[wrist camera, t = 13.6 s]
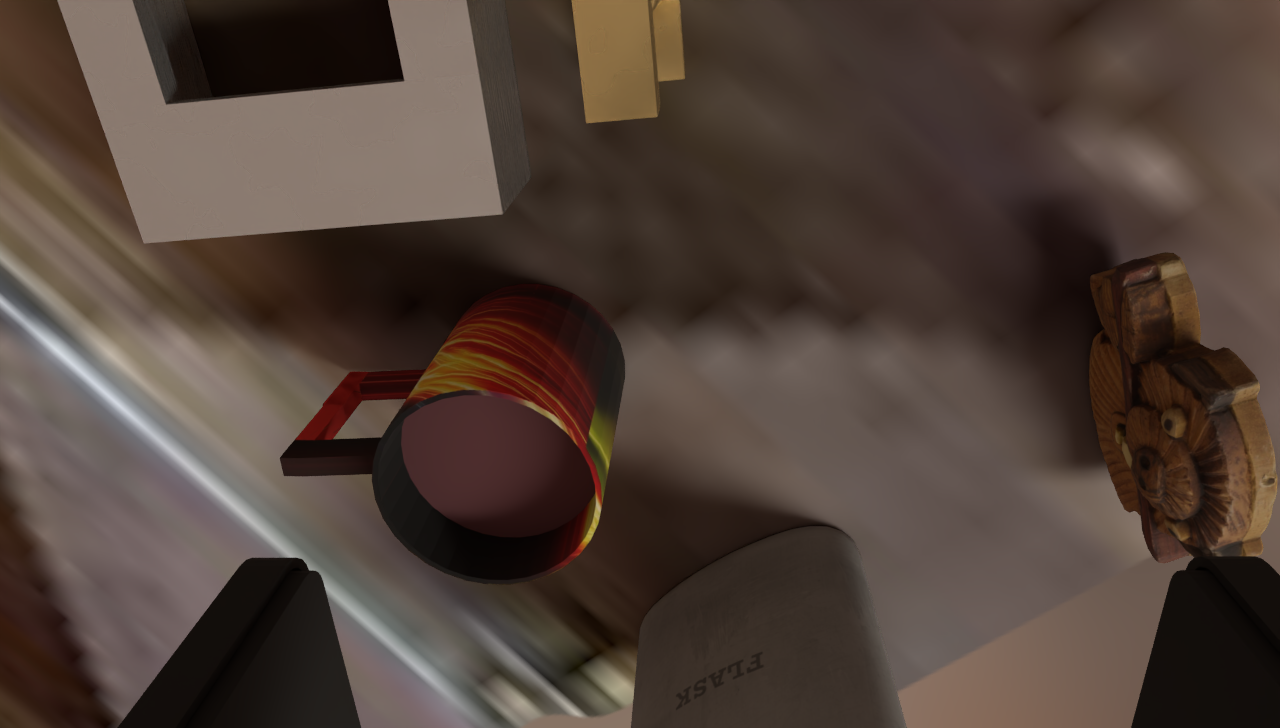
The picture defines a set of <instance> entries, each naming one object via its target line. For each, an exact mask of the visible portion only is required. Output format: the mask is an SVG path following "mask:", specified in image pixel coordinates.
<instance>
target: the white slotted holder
mask: <svg viewBox="0 0 1280 728" xmlns="http://www.w3.org/2000/svg"><path fill="white" fill-rule="evenodd" d="M57 1H58V4H59V6H60V9H61V12H62V15H63V18H64V20H65V23H66V26H67V29H68V32H69V34H70V37H71V40H72V43H73V46H74V48H75V51H76V54H77V57H78V60H79V63H80V65H81V68H82V71H83V74H84V77H85V79H86V82H87V85H88V88H89V91H90V93H91V96H92V99H93V102H94V105H95V107H96V110H97V113H98V116H99V119H100V121H101V124H102V127H103V130H104V133H105V135H106V138H107V141H108V144H109V147H110V150H111V152H112V155H113V158H114V161H115V164H116V166H117V169H118V172H119V175H120V178H121V180H122V183H123V186H124V189H125V192H126V194H127V197H128V200H129V203H130V206H131V208H132V211H133V214H134V217H135V220H136V223H137V225H138V228H139V231H140V234H141V237H142V239H143V242H144V243H155V242H167V241H179V240H192V239H204V238H216V237H229V236H241V235H253V234H265V233H278V232H290V231H302V230H315V229H327V228H339V227H352V226H364V225H376V224H389V223H401V222H413V221H426V220H438V219H450V218H463V217H475V216H487V215H500V214H503V213H504V212H505V211H506V209H507V208H508V207H509V205H510V204H511V203H512V202H513V200H514V199H515V198H516V196H517V195H518V194H519V192H520V191H521V190H522V189H523V187H524V186H525V185H526V183H527V182H528V181H529V179H530V178H531V172H530V166H529V159H528V153H527V146H526V140H525V133H524V127H523V120H522V113H521V107H520V100H519V94H518V87H517V81H516V74H515V68H514V61H513V54H512V48H511V41H510V35H509V28H508V22H507V15H506V9H505V2H504V0H388V3H389V8H390V13H391V18H392V23H393V28H394V32H395V37H396V42H397V47H398V52H399V57H400V62H401V66H402V71H403V76H404V79H394V80H384V81H374V82H363V83H353V84H343V85H333V86H323V87H313V88H302V89H292V90H282V91H272V92H262V93H252V94H241V95H231V96H221V97H212V93H211V90H210V87H209V83H208V80H207V76H206V73H205V70H204V66H203V63H202V60H201V56H200V53H199V50H198V46H197V43H196V40H195V36H194V33H193V30H192V26H191V23H190V20H189V16H188V13H187V10H186V6H185V3H184V0H57Z"/></svg>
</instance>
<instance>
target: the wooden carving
mask: <svg viewBox="0 0 1280 728" xmlns="http://www.w3.org/2000/svg"><path fill="white" fill-rule="evenodd" d="M1090 287H1091V290H1092V296H1093V299H1094V301H1095V307H1096V309H1097V312H1098V314H1099V318H1100V321H1101V323H1102V325H1103V327H1104V328H1105V329H1104V330H1102V331H1101V332H1099V333H1098V334H1097V335H1096V337H1095V338H1094V339H1093V344H1092V347H1091V352H1090V354H1091V355H1090V357H1089V358H1090V363H1089V378H1090V381H1089V386H1090V396H1091V400H1092V402H1091V405H1092V410H1093V412H1094V414H1093V418H1094V419H1095V422H1096V426H1097V433H1098V436H1099V438H1098V440H1099V443H1100V448H1101V450H1102V452H1103V456H1104V460H1105V462H1106V463H1107V467H1108V471H1109V473H1110V476H1111V480H1112V482H1113V484H1114V486H1115V489H1116V491H1117V495H1118V497H1119V499H1120V501H1121V503H1122V505H1123V507H1124V509H1125V510H1126V511H1128V512H1132V511H1136V512H1137V513H1138V514H1139V515H1141V521H1142V531H1143V535H1144V538H1145V541H1146V544H1147V547H1148V549H1149V551H1150V552H1151V554H1152V556H1153V557H1154V558H1155V560H1156V561H1158V562H1159V563H1167V562H1170V561H1173V560H1176V559H1179V558H1182V557H1185V556H1193V557H1195V558H1196V557H1200V556H1257V555H1260V554H1262V551H1263V544H1262V541H1261V537H1260V536H1261V535H1262V533H1263V532H1264V530H1265V529H1266V527H1267V525H1268V523H1269V521H1270V517H1271V514H1272V506H1273V503H1274V501H1275V498H1276V494H1277V474H1276V471H1275V454H1274V449H1273V446H1272V442H1271V438H1270V435H1269V432H1268V429H1267V425H1266V422H1265V419H1264V416H1263V414H1262V411H1261V408H1260V405H1259V403H1258V401H1257V394H1258V392H1259V390H1260V385H1259V383H1258V380H1257V378H1256V377H1255V375H1254V374H1253V373H1252V372H1251V371H1250V369H1249V368H1248V367H1247V366H1246V365H1245V364H1244V363H1243V361H1242V360H1241V359H1240V358H1239V357H1238V356H1237V355H1236V354H1235V353H1234V352H1232V351H1231V350H1230V349H1229V348H1224V347H1223V348H1221V349H1219V350H1215V351H1214V350H1211V349H1209V348H1206V347H1204V346H1203V345H1201V344H1200V336H1201V331H1200V316H1199V309H1198V303H1197V297H1196V292H1195V290H1194V287H1193V284H1192V282H1191V280H1190V278H1189V276H1188V274H1187V271H1186V268H1185V265H1184V263H1183V261H1182V260H1181V258H1180V257H1178V256H1177V255H1175V254H1174V253H1166V252H1165V253H1160V254H1157V255H1153V256H1149V257H1146V258H1141V259H1134V260H1131V261H1129V262H1126V263H1124V264H1121V265H1118V266H1116V267H1114V268H1113V269H1111V270H1107V271H1104V272H1101V273H1097V274H1093V275H1091V277H1090Z"/></svg>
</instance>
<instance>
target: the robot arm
mask: <svg viewBox="0 0 1280 728" xmlns="http://www.w3.org/2000/svg"><path fill="white" fill-rule="evenodd" d="M118 728H361V725H360V722H359V718H358V714H357V710H356V706H355V702H354V698H353V695H352V691H351V687H350V683H349V679H348V675H347V672H346V668H345V664H344V660H343V656H342V652H341V649H340V645H339V641H338V637H337V633H336V629H335V626H334V622H333V618H332V614H331V610H330V606H329V603H328V599H327V595H326V591H325V587H324V583H323V580H322V577H321V575H320V574H319V573H318V572H317V571H309V570H308V567H307V564H306V563H305V562H304V561H303V560H302V559H299V558H250V559H248V560H246V561H245V562H244V563H243V564H241V565H240V567H239V568H238V569H237V571H236V572H235V573H234V575H233V576H232V577H231V578H230V580H229V581H228V582H227V584H226V585H225V586H224V588H223V589H222V590H221V592H220V593H219V594H218V596H217V597H216V598H215V600H214V601H213V602H212V604H211V605H210V606H209V608H208V609H207V610H206V612H205V613H204V614H203V615H202V617H201V618H200V619H199V621H198V622H197V623H196V625H195V626H194V627H193V629H192V630H191V631H190V633H189V634H188V635H187V637H186V638H185V639H184V641H183V642H182V643H181V645H180V646H179V647H178V649H177V650H176V651H175V652H174V654H173V655H172V656H171V658H170V659H169V660H168V662H167V663H166V664H165V666H164V667H163V668H162V670H161V671H160V672H159V674H158V675H157V676H156V678H155V679H154V680H153V682H152V683H151V684H150V686H149V687H148V688H147V690H146V691H145V692H144V693H143V695H142V696H141V697H140V699H139V700H138V701H137V703H136V704H135V705H134V707H133V708H132V709H131V711H130V712H129V713H128V715H127V716H126V717H125V719H124V720H123V721H122V723H121V724H120V725H119V727H118ZM1131 728H1280V575H1279V574H1278V573H1277V572H1276V571H1275V570H1274V569H1273V568H1272V567H1271V566H1270V565H1269V564H1268V563H1267V562H1265V561H1264V560H1263V559H1261V558H1258V557H1255V556H1200V557H1196V558H1193V560H1191V561H1190V563H1189V564H1188V566H1187V568H1186V570H1181V571H1177V572H1176V573H1175V574H1174V575H1173V576H1172V579H1171V581H1170V584H1169V588H1168V592H1167V595H1166V599H1165V603H1164V607H1163V610H1162V614H1161V618H1160V622H1159V625H1158V629H1157V633H1156V637H1155V641H1154V644H1153V648H1152V652H1151V655H1150V659H1149V663H1148V667H1147V670H1146V674H1145V678H1144V682H1143V685H1142V689H1141V693H1140V697H1139V700H1138V704H1137V708H1136V712H1135V715H1134V719H1133V723H1132V726H1131Z"/></svg>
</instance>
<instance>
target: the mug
mask: <svg viewBox="0 0 1280 728" xmlns="http://www.w3.org/2000/svg"><path fill="white" fill-rule="evenodd" d="M624 380H625V360H624V356H623V352H622V348H621V344H620V342H619V340H618V338H617V336H616V334H615V332H614V330H613V328H612V327H611V326H610V324H609V323H608V322H607V321H606V319H605V318H604V317H603V315H602V314H600V313H599V312H598V311H597V310H596V309H595V308H594V307H593V306H592V305H590V304H589V303H588V302H586V301H584V300H583V299H581V298H579V297H578V296H576V295H575V294H572V293H570V292H567V291H565V290H562V289H559V288H557V287H552V286H546V285H541V284H519V285H513V286H508V287H503V288H501V289H498V290H496V291H493V292H491V293H488V294H487V295H485V296H484V297H482V298H481V299H479V300H478V301H476V302H475V303H473V305H472V306H471V307H470V308H469V309H468V310H467V311H466V312H465V313H464V314H463V315H462V317H461V318H460V320H459V321H458V323H457V324H456V326H455V327H454V329H453V330H452V332H451V333H450V335H449V336H448V338H447V339H446V341H445V342H444V344H443V345H442V347H441V348H440V350H439V351H438V353H437V354H436V356H435V357H434V359H433V360H432V362H431V363H430V365H429V366H428V368H427V369H424V370H402V371H380V372H350V373H349V374H348V375H347V376H346V377H345V379H344V380H343V381H342V382H341V383H340V384H339V386H338V387H337V388H336V389H335V390H334V392H333V393H332V394H331V395H330V396H329V397H328V399H327V400H326V401H325V402H324V403H323V407H322V408H321V409H320V411H319V412H318V413H317V414H316V415H315V416H314V418H313V419H312V420H311V421H310V422H309V424H308V425H307V426H306V427H305V428H304V430H303V431H302V432H301V433H300V434H299V436H298V437H297V438H296V439H295V440H294V441H293V443H292V444H291V445H290V446H289V447H288V449H287V450H286V451H285V452H284V453H283V455H282V456H281V457H280V461H281V465H282V470H283V474H284V476H327V475H356V474H372V484H373V489H374V495H375V500H376V503H377V505H378V507H379V510H380V512H381V515H382V517H383V519H384V521H385V522H386V524H387V525H388V527H389V528H390V530H391V531H392V533H393V534H394V535H395V537H396V538H397V539H398V540H399V541H400V542H401V543H402V544H403V545H404V546H405V547H406V548H407V549H408V550H409V551H410V552H412V553H413V554H414V555H416V556H417V557H418V558H420V559H421V560H422V561H424V562H425V563H427V564H428V565H430V566H432V567H434V568H436V569H438V570H440V571H442V572H444V573H446V574H449V575H452V576H455V577H458V578H460V579H463V580H467V581H472V582H478V583H483V584H501V585H509V584H517V583H524V582H530V581H533V580H536V579H539V578H542V577H545V576H548V575H550V574H552V573H554V572H556V571H558V570H559V569H561V568H563V567H565V566H566V565H567V564H569V563H570V562H571V561H572V560H573V559H575V558H576V557H577V556H578V555H579V554H580V553H581V552H582V551H583V549H584V548H585V547H586V545H587V544H588V543H589V542H590V540H591V539H592V536H593V534H594V532H595V530H596V528H597V525H598V523H599V518H600V513H601V508H602V503H603V497H604V491H605V486H606V480H607V475H608V469H609V463H610V458H611V452H612V447H613V441H614V435H615V430H616V424H617V419H618V413H619V408H620V402H621V396H622V391H623V385H624ZM387 399H406V401H405V402H404V404H403V406H402V407H401V409H400V410H399V412H398V413H397V415H396V416H395V418H394V419H393V421H392V422H391V424H390V425H389V427H388V428H387V430H386V432H385V433H384V435H383V437H382V438H357V439H333V438H334V437H335V435H336V434H337V433H338V431H339V430H340V429H341V427H342V426H343V425H344V424H345V422H346V421H347V420H348V418H349V417H350V416H351V414H352V413H353V412H354V410H355V409H356V408H357V406H358V405H359V404H360V403H361V401H364V400H387Z"/></svg>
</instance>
